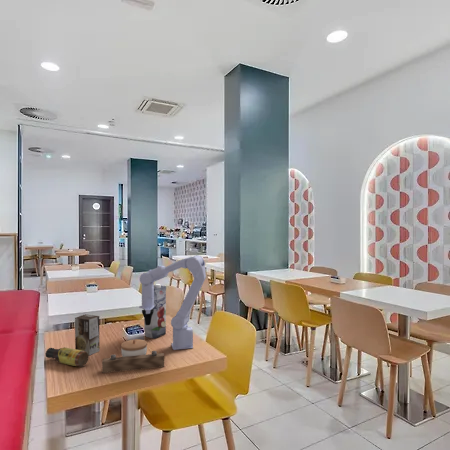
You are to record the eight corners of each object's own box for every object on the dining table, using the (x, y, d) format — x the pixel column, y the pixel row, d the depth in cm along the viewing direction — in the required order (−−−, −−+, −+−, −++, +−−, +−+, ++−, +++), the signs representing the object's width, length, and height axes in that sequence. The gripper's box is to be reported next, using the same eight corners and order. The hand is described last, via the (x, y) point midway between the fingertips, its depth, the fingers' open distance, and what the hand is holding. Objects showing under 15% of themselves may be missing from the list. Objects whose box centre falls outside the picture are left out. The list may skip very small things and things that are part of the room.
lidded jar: (116, 365, 139) (115, 343, 139) (129, 355, 149) (129, 334, 149) (139, 368, 136) (139, 345, 136) (151, 358, 147) (151, 336, 147)
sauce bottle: (77, 356, 134) (40, 350, 141) (79, 370, 135) (42, 364, 142) (89, 347, 140) (53, 342, 147) (91, 361, 141) (55, 355, 148)
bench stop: (163, 363, 141) (163, 349, 141) (164, 366, 138) (164, 352, 138) (103, 369, 135) (102, 354, 135) (102, 373, 132) (102, 357, 132)
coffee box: (100, 350, 155) (100, 315, 155) (89, 355, 149) (89, 319, 149) (85, 347, 159) (85, 313, 159) (74, 352, 153) (74, 317, 153)
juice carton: (141, 336, 174) (141, 284, 174) (156, 331, 183) (155, 281, 183) (154, 340, 169) (154, 286, 169) (168, 334, 178) (168, 283, 178)
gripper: (139, 294, 169) (139, 321, 169) (139, 300, 155) (139, 330, 155) (153, 293, 171) (153, 320, 171) (154, 299, 157) (154, 328, 157)
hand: (147, 324), depth 163 cm, fingers closed
